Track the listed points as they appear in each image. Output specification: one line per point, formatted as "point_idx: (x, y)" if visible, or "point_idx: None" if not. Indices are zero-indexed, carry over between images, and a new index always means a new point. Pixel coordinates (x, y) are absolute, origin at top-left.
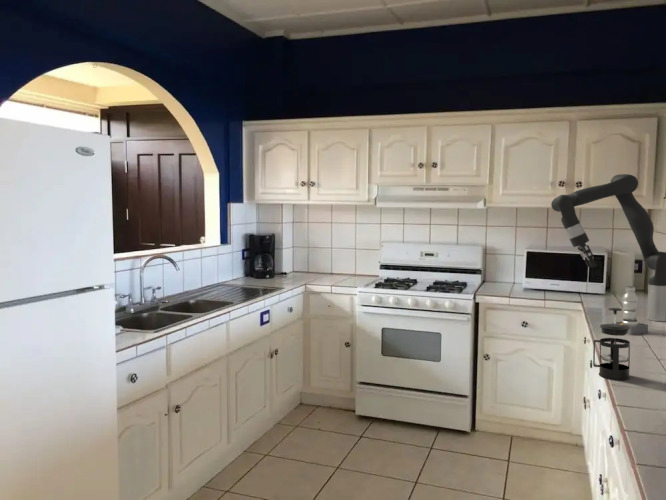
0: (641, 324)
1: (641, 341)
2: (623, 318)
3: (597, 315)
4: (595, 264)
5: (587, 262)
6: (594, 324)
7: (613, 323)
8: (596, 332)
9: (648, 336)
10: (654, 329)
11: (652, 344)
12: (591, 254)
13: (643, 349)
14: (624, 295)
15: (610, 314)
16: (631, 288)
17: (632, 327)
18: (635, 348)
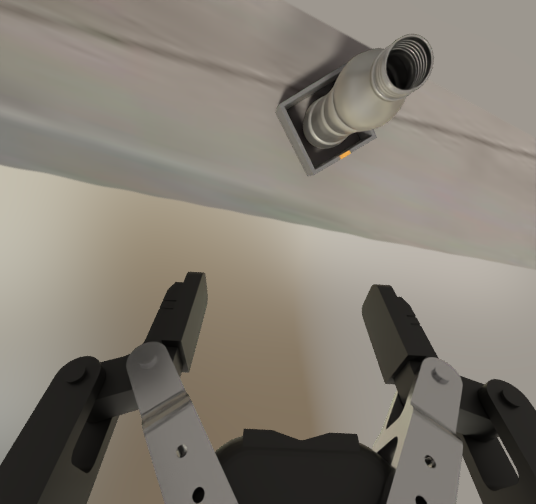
0: (327, 80)
1: (437, 141)
2: (335, 140)
3: (58, 148)
4: (407, 303)
5: (196, 334)
6: (226, 203)
7: (317, 172)
8: (333, 227)
9: None
10: (291, 28)
11: (469, 125)
12: (523, 435)
13: (508, 168)
14: (380, 117)
15: (21, 87)
16: (428, 70)
17: (373, 131)
18: (497, 184)
